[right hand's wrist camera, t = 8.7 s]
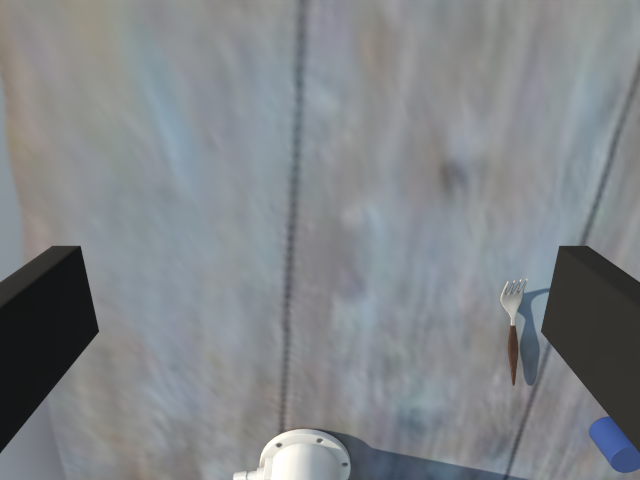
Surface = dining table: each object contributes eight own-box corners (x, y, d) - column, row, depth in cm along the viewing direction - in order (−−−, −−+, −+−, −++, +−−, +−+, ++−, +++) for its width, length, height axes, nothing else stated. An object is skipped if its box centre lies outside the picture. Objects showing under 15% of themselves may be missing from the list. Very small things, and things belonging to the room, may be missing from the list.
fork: (501, 384, 58) (507, 394, 56) (499, 274, 52) (506, 282, 50) (522, 381, 57) (528, 392, 56) (522, 270, 51) (530, 278, 50)
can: (590, 445, 62) (611, 475, 57) (588, 420, 60) (610, 450, 55) (623, 438, 61) (648, 468, 57) (622, 413, 60) (647, 442, 55)
